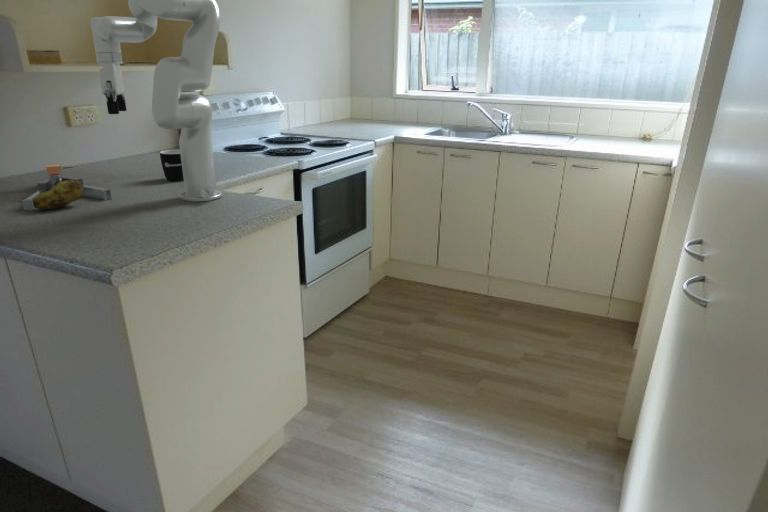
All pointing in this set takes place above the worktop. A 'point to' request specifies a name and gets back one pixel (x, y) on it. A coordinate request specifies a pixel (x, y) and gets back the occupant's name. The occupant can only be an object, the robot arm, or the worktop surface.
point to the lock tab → (53, 169)
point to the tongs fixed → (41, 190)
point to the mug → (172, 165)
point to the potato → (59, 195)
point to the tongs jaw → (90, 189)
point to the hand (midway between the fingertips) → (117, 112)
